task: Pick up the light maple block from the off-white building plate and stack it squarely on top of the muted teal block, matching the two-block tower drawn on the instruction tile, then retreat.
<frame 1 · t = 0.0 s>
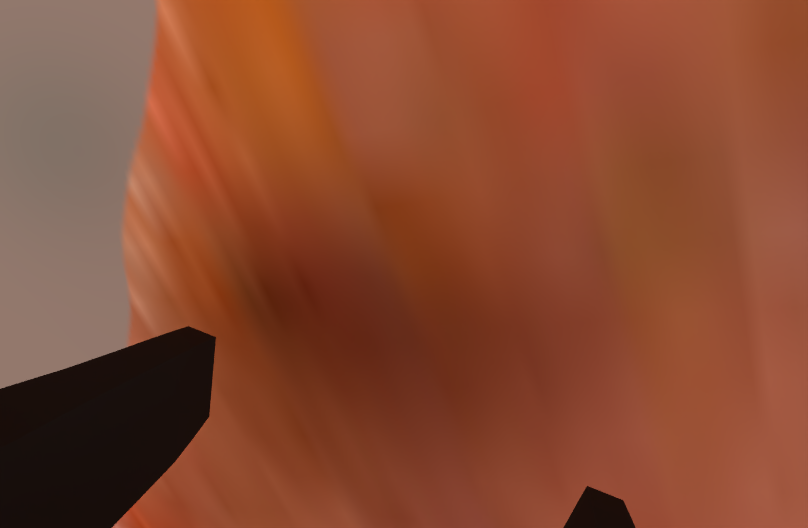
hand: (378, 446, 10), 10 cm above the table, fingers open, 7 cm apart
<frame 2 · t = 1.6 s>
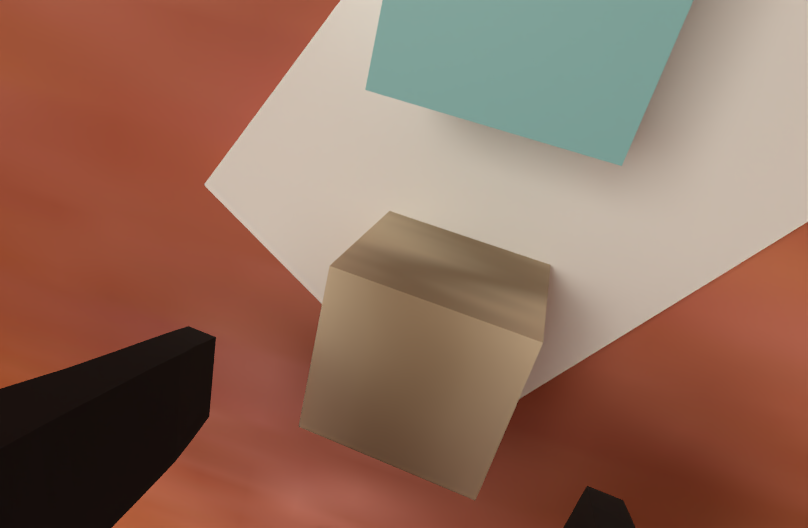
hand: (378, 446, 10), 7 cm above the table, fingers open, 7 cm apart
maple block: (445, 307, 15), point 1 cm above the table, touching building plate
building plate: (499, 162, 14), on the table
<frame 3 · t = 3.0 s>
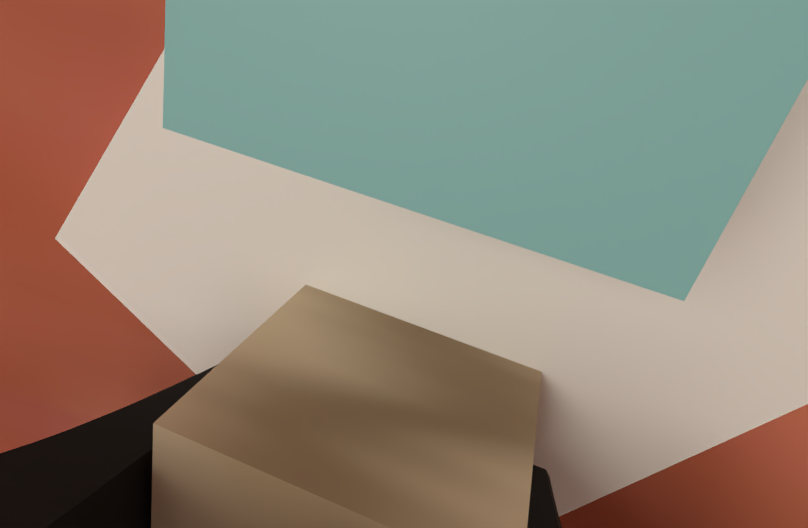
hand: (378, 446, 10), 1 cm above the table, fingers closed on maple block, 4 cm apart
maple block: (391, 419, 10), point 1 cm above the table, touching building plate, gripper
building plate: (464, 217, 9), on the table
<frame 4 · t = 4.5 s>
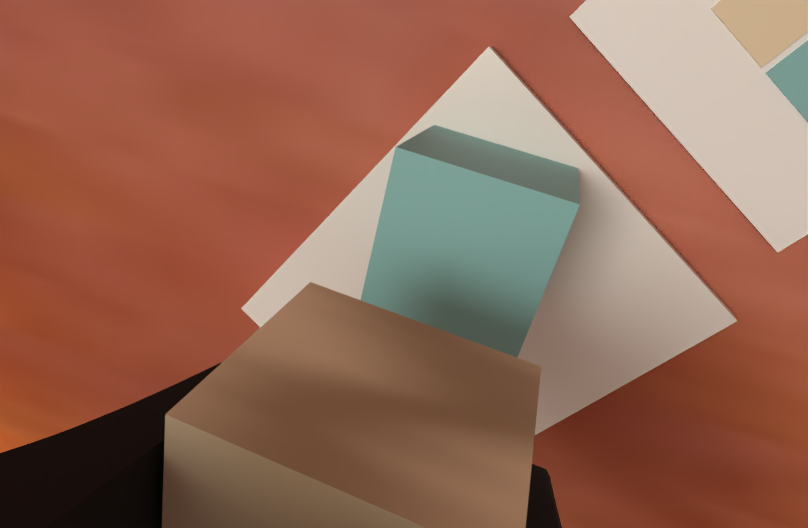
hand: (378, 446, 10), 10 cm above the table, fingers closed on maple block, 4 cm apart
maple block: (394, 413, 11), point 9 cm above the table, touching gripper
teal block: (482, 213, 17), point 1 cm above the table, touching building plate
instruction tile: (798, 39, 13), on the table
building plate: (456, 306, 19), on the table
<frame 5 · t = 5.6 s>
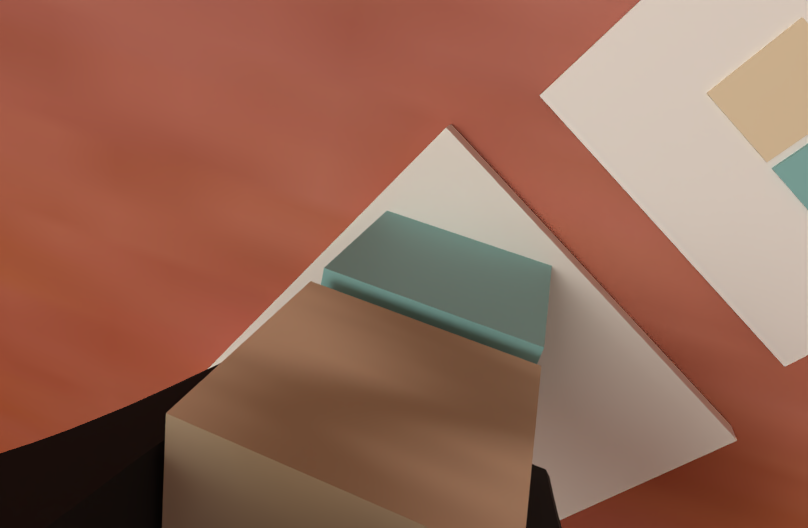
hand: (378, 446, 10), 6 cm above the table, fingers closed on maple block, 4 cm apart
maple block: (394, 413, 11), point 5 cm above the table, touching gripper
teal block: (444, 309, 15), point 1 cm above the table, touching building plate
building plate: (420, 400, 17), on the table
when the fingers open (6 cm above the table, at t = 6.2 s): maple block stays where it is, resting on teal block.
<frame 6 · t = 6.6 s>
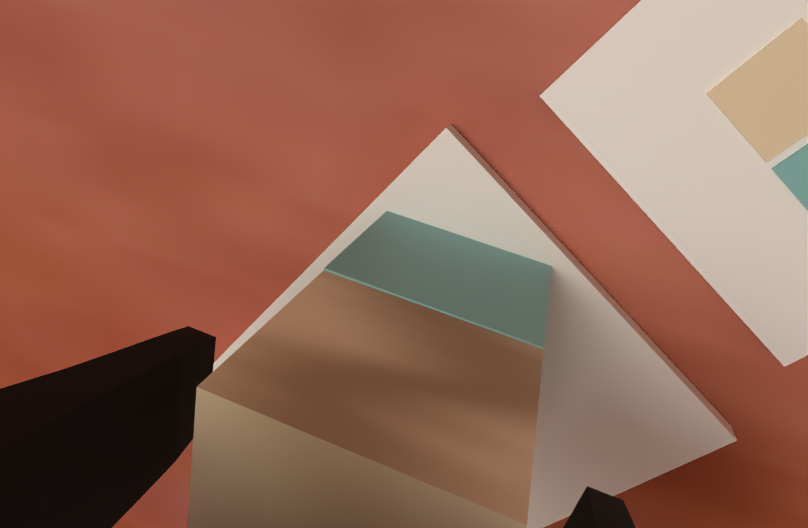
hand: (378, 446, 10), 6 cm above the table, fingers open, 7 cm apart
maple block: (403, 396, 11), point 5 cm above the table, touching teal block
teal block: (444, 309, 15), point 1 cm above the table, touching building plate, maple block
building plate: (420, 400, 17), on the table
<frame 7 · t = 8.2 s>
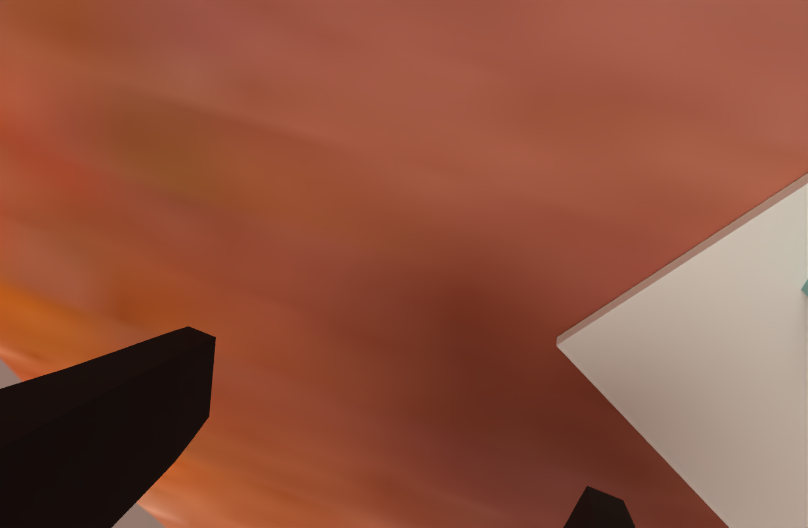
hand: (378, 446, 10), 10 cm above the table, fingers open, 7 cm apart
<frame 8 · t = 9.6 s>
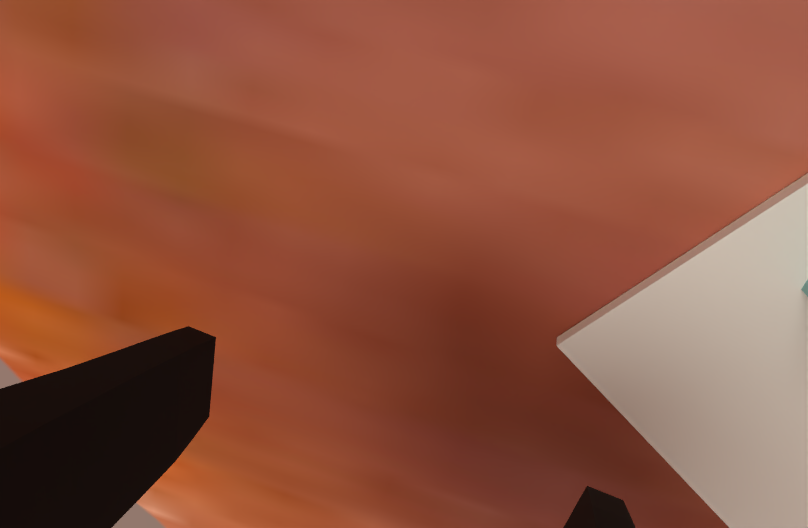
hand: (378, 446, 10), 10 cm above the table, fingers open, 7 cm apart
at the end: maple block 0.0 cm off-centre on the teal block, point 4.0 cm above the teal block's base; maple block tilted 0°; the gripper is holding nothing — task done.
